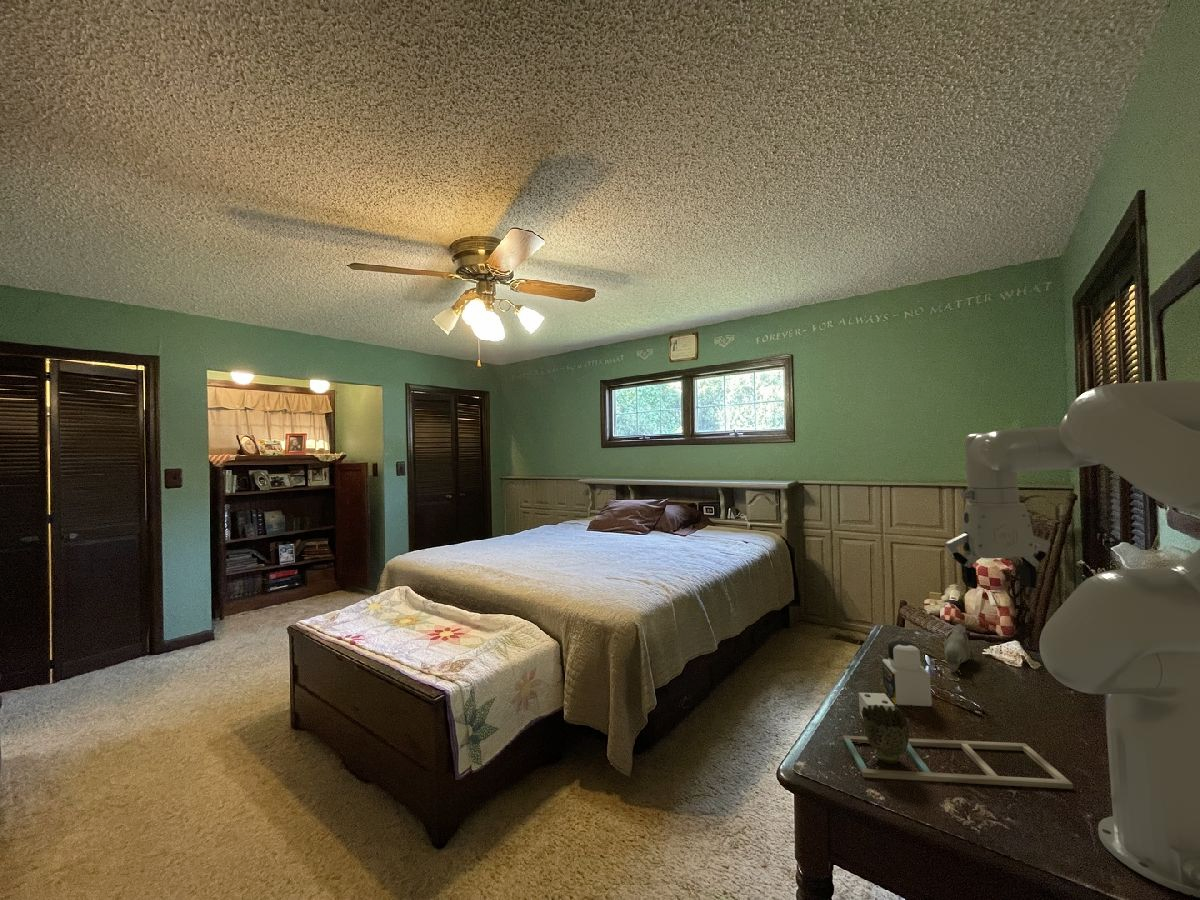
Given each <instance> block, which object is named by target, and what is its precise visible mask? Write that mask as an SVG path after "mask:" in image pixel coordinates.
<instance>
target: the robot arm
mask: <svg viewBox="0 0 1200 900" xmlns="http://www.w3.org/2000/svg"><path fill="white" fill-rule="evenodd" d="M964 452H965V465H966V466H965V467H966V479H967V481H966V482H967V487H966V490H965V491H961V492H960V498H961V499H966V500H967V502H968V503H965V505H964V508H963V515H962V523H961V524H962V527H961V534H960V535H958V536H956V537H953V538H952V539H950V540H947V541H945V543H944V547H945V549H946V550H947V552H948V553H949V555H950V556H951V558H952V559H954V560H955V561H956V563H958V564H959V565H960V568H961V579H962V582H963V583H964V585H965V586H967V587H969V588H971V589H972V590H974V589H977V588H978V575H977V574H978V573H977V568H976V567H974V565H975V563H976V562H977V561H978V560H979V559H1019V560H1020V561H1021V562H1020V563H1019V564H1018V567H1019V568H1018V569H1019V582H1020V584H1021V585H1022V586H1025V587H1028V588H1030V589H1036V587H1037V585H1036V584H1037V581H1038V578H1037V567H1039V566H1040V562H1042V560H1044V558H1045V557H1046V556H1047V552H1049V551H1048V550H1049V549H1050V547H1051V542H1050V541H1048V540H1046V539H1044V538H1041V537H1039V536H1036V535H1034V532H1033V528H1032V523H1031V519H1030V515H1029V511H1028V510H1027V509H1028V508H1027V506H1026V504H1025V503H1024V502H1023V503H1022V502H1020V495H1019V480H1018V477H1019V476H1018V473H1019V472H1032V471H1058V470H1060V471H1061V470H1070V469H1076V468H1084V467H1089V466H1097V465H1104V466H1105V467H1107V468H1108V469H1109V470H1111V471H1113V472H1114V473H1116V474H1117V475H1118V476H1120V477H1121V478H1123V479H1124V480H1125V481H1127V482H1128V483H1130V484H1131V485H1133V486H1134V487H1135V488H1136V489H1139V490H1140V491H1141V492H1143V494H1146V495H1147V496H1149V497H1151V498H1152V499H1154V500H1156V501H1157V502H1160V503H1161V504H1165V505H1166V506H1169V507H1172V508H1174V509H1179V510H1183V511H1186V512H1187V511H1188V512H1194V513H1195V512H1197V513H1198V512H1199V513H1200V381H1197V380H1188V379H1172V380H1171V379H1170V380H1155V381H1154V380H1153V381H1151V380H1150V381H1140V382H1139V381H1138V382H1137V381H1136V382H1124V383H1123V382H1122V383H1120V382H1119V383H1109V384H1103V385H1101V386H1096V387H1094V388H1090V389H1088V390H1087V391H1085V392H1083V393H1081V395H1079V396H1078V397H1076V398H1075V399H1074V401H1073V402H1072V403H1071V405H1070V407H1068V410H1067V413H1066V414H1065V415H1064V417H1062V420H1061V421H1060V424H1059V426H1041V427H1040V426H1039V427H1025V428H1010V429H1007V428H1006V429H999V430H994V431H987V432H985V431H983V432H975V433H974V432H973V433H970V434H968V435H967V436H966V437H965V440H964ZM960 546H962V548H963V553H960V552H959V549H958V548H959V547H960ZM1038 645H1039V653H1040V658H1041V661H1042V662H1043V664H1044V665H1043V666H1044V667H1045V668H1046V670H1047V671H1048V672H1049V673H1050V675H1051V676H1053V677H1054V678H1055V680H1057V681H1058V682H1059V683H1061V684H1062V685H1064V686H1065V687H1068V688H1069V689H1072V690H1075V691H1077V692H1081V693H1085V694H1090V695H1110V696H1109V697H1108V698H1109V699H1108V702H1107V705H1106V708H1105V709H1106V711H1105V723H1106V738H1107V739H1106V741H1107V750H1108V751H1107V754H1108V767H1109V778H1110V781H1109V782H1110V793H1111V806H1112V816H1108V817H1105V818H1102V820H1100V821H1099V823H1098V826H1097V827H1098V828H1097V831H1098V836H1099V840H1100V841H1101V843H1102V844H1103V846H1104V848H1106V850H1107V851H1108V852H1109V853H1110V854H1111V855H1113V857H1115V858H1116V859H1117V860H1119V861H1120V862H1121V863H1123V864H1124V865H1126V866H1127V867H1128V868H1130V869H1131V870H1133V871H1134V872H1136V873H1137V874H1140V875H1141V876H1143V877H1144V878H1147V879H1149V880H1151V881H1152V882H1155V883H1156V884H1158V885H1161V886H1163V887H1166V888H1168V889H1171V890H1173V891H1176V892H1178V891H1180V892H1179V893H1181V892H1182V894H1184V895H1187V896H1190V895H1193V896H1192V897H1194V896H1195V898H1199V899H1200V547H1199V548H1198V549H1197V550H1196V551H1194V552H1193V553H1192V554H1191V555H1189V556H1188V557H1187V558H1186V559H1184V560H1182V561H1181V562H1178V563H1177V564H1174V565H1173V564H1172V565H1169V566H1163V567H1151V568H1150V567H1149V568H1146V567H1145V568H1126V569H1125V568H1123V569H1112V570H1107V571H1103V572H1099V573H1097V574H1095V575H1093V576H1090V577H1088V578H1087V579H1085V580H1084V581H1082V582H1081V583H1080V584H1079V585H1078V586H1077V587H1076V588H1075V590H1074V591H1073V592H1072V593H1071V594H1070V595H1069V596H1068V597H1067V598H1066V600H1065V601H1064V602H1063V603H1062V604H1061V605H1060V607H1058V609H1056V611H1055V612H1054V614H1053V615H1051V617H1050V618H1049V619H1048V621H1047V622H1046V623H1045V625H1044V626H1043V628H1042V630H1041V634H1040V638H1039V644H1038Z"/></svg>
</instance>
